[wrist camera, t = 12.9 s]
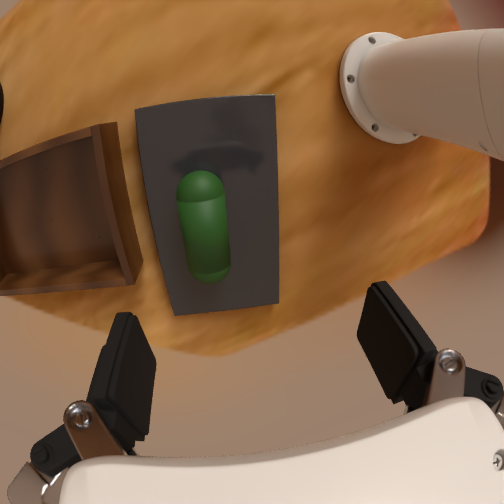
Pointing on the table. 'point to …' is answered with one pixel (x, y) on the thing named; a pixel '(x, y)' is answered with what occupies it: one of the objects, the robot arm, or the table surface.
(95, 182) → the brown wooden tray
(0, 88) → the french press
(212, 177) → the cucumber
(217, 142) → the board
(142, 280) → the table surface
